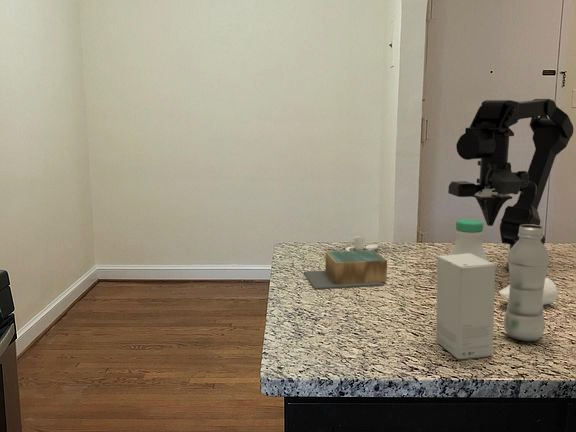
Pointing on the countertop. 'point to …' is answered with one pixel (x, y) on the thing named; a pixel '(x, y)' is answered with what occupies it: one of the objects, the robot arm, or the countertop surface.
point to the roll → (548, 293)
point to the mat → (324, 281)
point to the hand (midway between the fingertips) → (489, 225)
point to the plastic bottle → (526, 285)
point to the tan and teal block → (356, 267)
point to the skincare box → (465, 305)
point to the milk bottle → (469, 238)
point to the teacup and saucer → (361, 244)
